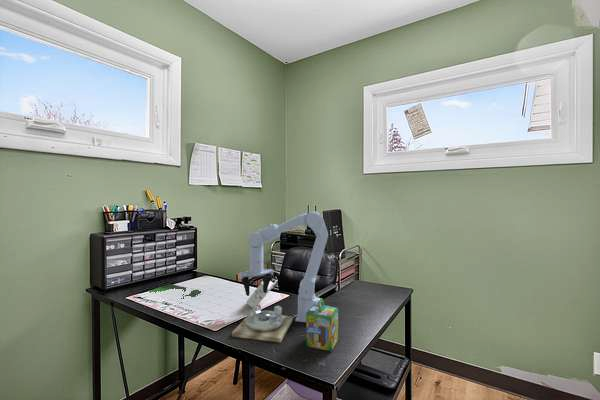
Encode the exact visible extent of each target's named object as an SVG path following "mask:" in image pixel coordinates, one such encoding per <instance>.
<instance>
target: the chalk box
mask: <svg viewBox="0 0 600 400" xmlns="http://www.w3.org/2000/svg"><path fill="white" fill-rule="evenodd" d="M320 303H321V305H320ZM305 324H306V325H305V326H306V327H305V333H306V334H305V335H306V337H305V339H306V340H305V347H307V348H313V349H318V350H322V351H326V352H330V353H332V351H333V350H334V348H335V346H336V345H337V342H338V341H339V308H338V307H334V306H330V305H325V302H324V299H323V298H322V297H321V299H320V300H319V301H318V305H317V304H314V305H313V306H312V307H311V308H310V309H309V310H308V311H307V312H306V322H305Z"/></svg>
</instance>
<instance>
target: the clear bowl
mask: <svg viewBox="0 0 600 400" xmlns="http://www.w3.org/2000/svg"><path fill="white" fill-rule="evenodd" d="M261 306H262V305H260V303H259V304H257V305H253V308H252V312H253V313H251V312H249V313H246V316H245V318H246V327H247V328H248V329H250V330H253V331H257V332H268V331H273V330H276V329H278V328H280V327H281V326H282V325H283V316H284V315H283V314H282V311H283V310H282V309H283V307H281V305H276V306H273V310H261V309H262V307H261Z"/></svg>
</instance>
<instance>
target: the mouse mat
mask: <svg viewBox="0 0 600 400" xmlns="http://www.w3.org/2000/svg"><path fill="white" fill-rule="evenodd" d="M174 288H175V289H183V290H184V292H185V291H186V288H187V287H185V286H180V285H177V284H173V283H169V284H166V285H162V286H159V287H156V288H153V289H150V290H148V291H149V292H150V293H151V292H155V293H156V292H157V291H158V292H159V291H160V292H161V291H166V290H169V289H174ZM183 290H182V291H183ZM199 290H200V289H196V290H193V291H191V293H190V294H189V295H185V297H186V296H191V297H193V298H196V297H198V296H199V295H198V294H200V293H201V291H199ZM183 295H184V294H183ZM183 295H182V296H183ZM196 295H197V296H196ZM200 295H201V294H200ZM181 299H182V298H181ZM183 299H184V296H183ZM182 303H183V302H181V303H180V304H182ZM164 305H167V303H165V304H164Z"/></svg>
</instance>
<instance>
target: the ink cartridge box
mask: <svg viewBox="0 0 600 400" xmlns="http://www.w3.org/2000/svg"><path fill="white" fill-rule="evenodd" d="M277 282H278V279H276V280H275V281H274V282H273V281H270V283H269V285H268V289H267V293H265V292H263V281H261V282H260V284H259V285H258V286H257V287H256V289H255V290H254V291H253V293H252V294H251V295H249V297H248V299H247V300H246V301H245V302H246V304H248V305H249V306H250V307H251V308H252V309H253V305H257V304H259V305H260V303H261V302H262V300H264V298H265V297H266V296H267V294H268V293H269V292H270V291H271V290H272V288H273V287H275V285H276V283H277Z"/></svg>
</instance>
